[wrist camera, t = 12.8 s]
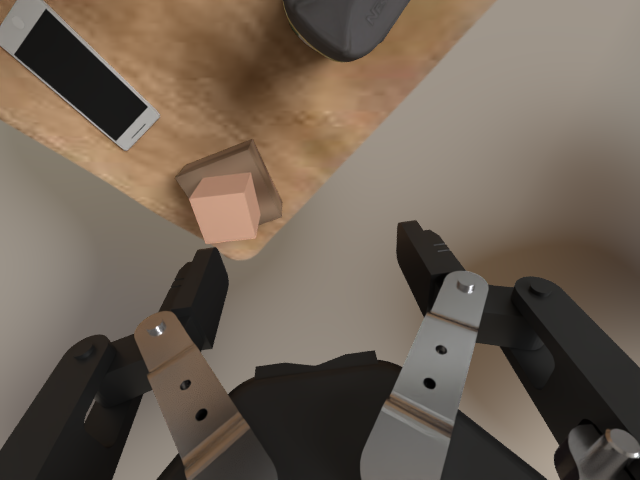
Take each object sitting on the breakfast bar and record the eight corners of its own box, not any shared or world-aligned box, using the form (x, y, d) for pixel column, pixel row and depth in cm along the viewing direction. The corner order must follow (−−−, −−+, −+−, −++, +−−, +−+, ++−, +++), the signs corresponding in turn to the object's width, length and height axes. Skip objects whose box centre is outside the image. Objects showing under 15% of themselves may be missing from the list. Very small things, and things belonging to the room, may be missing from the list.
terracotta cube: (203, 177, 37) (188, 198, 32) (250, 172, 37) (244, 192, 32) (216, 219, 40) (205, 244, 36) (260, 214, 41) (255, 238, 36)
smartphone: (32, -14, 30) (25, -15, 29) (163, 114, 37) (160, 116, 37) (-2, 38, 32) (-10, 38, 31) (128, 150, 40) (125, 152, 39)
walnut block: (186, 164, 41) (174, 177, 37) (252, 138, 40) (248, 149, 36) (223, 222, 46) (216, 239, 42) (282, 201, 45) (281, 217, 41)
